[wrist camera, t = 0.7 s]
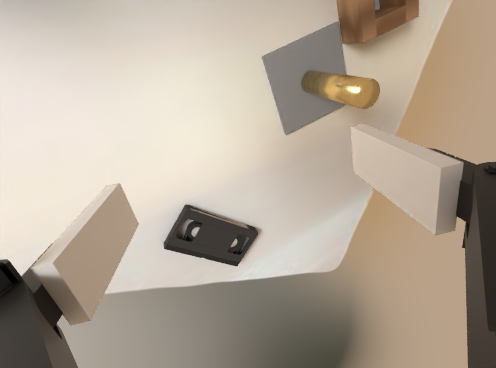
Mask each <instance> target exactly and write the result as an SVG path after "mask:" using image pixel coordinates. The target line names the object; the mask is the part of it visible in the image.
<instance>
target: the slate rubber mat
mask: <svg viewBox="0 0 496 368" xmlns="http://www.w3.org/2000/svg"><path fill="white" fill-rule="evenodd" d="M262 58H263V62H264V65H265V68H266V72H267V75H268V78H269V82H270V85H271V88H272V92H273V95H274V98H275V102H276V105H277V108H278V112H279V115H280V118H281V122H282V125H283V128H284V132H285V134H286V135H287V134H289V133H291V132H293V131H295V130H297V129H299V128H301V127H303V126H305V125H307V124H308V123H310V122H312V121H314V120H316V119H318V118H320V117H322V116H324V115H326V114H328V113H330V112H332V111H334V110H336V109H338V108H340V107H342V106H344V105H346V104H345V103H341V102H338V101H334V100H331V99H327V98H323V97H320V96H316V95H313V94H309V93H306V92H305V91H304V90H303V89H302V87H301V80H302V77H303V76H304V74H305V73H306V72H308V71H310V70H315V71H321V72H328V73H335V74H342V75H346V73H345V66H344V59H343V52H342V45H341V38H340V31H339V24H338V22H335V23H333V24H331V25H329V26H327V27H325V28H323V29H320V30H318V31H316V32H314V33H312V34H310V35H308V36H305V37H303V38H301V39H299V40H297V41H295V42H293V43H290V44H288V45H286V46H284V47H282V48H280V49H277V50H275V51H273V52H271V53H269V54H267V55H265V56H262Z"/></svg>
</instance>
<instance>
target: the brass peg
mask: <svg viewBox="0 0 496 368" xmlns="http://www.w3.org/2000/svg"><path fill="white" fill-rule="evenodd" d="M301 87H302V89H303V90H304V91H305V92H306V93H309V94H313V95H316V96H320V97H323V98H327V99H331V100H334V101H338V102H341V103H345V104H348V105H352V106H355V107H359V108H362V109H367V108H369V107H371V106H372V105H373V104H374V103H375V102H376V100H377V99H378V96H379V92H380V86H379V83H378V82H377V81H376V80H374V79H370V78H363V77H356V76H349V75H342V74H335V73H328V72H321V71H315V70H310V71H308V72H306V73H305V74H304V76H303V77H302V80H301Z"/></svg>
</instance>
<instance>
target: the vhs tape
mask: <svg viewBox="0 0 496 368" xmlns="http://www.w3.org/2000/svg"><path fill="white" fill-rule="evenodd" d="M187 219H191V220H194V221H192V222H191V223H189V224H188V226H187V229H186V232H185V235H184V237H183V240H182V239H178V238H177V237H176V234H177V230H178V228H179V227H180V225H181V224H182V223H183V222H184V221H185V220H187ZM187 233H188V236H189V237H190V238H191V239H193V241H192V242H189V241H185V239H186V236H187ZM257 235H258V232H257V231H256V229H255V228H254V227H252V226H249V225H245V224H242V223H240V222H237V221H234V220H231V219H228V218H225V217H222V216H219V215H216V214H213V213H210V212H208V211H205V210H202V209H199V208H196V207H193V206H190V205H185V206H184V208H183V210H182V211H181V213H180V215H179V217H178V219H177V220H176V222H175V224H174V226H173V227H172V229H171V231H170V233H169V235H168V236H167V238H166V240H165V242H164V249H167V250H171V251H175V252H179V253H183V254H188V255H192V256H196V257H200V258H202V257H203V258H206V259H208V260H213V261H217V262H221V263H225V264H229V265H233V266H238V264H239V263H240V261H241V258H243V256H244V255H245V253H246V252H247V250H248V249H249V247H250V246H251V244H252V243H253V241H254V239H255V238H256V236H257ZM243 236H245V237H248V238H249V240H248V241H247V243H246V244H245V246H244V247H243V249H242V251H241V252H240V254H239V255H238V254H237V253H238V251H239V250H240V248H241V246H242V245H243V243H244V237H243ZM232 252H233V253H232Z"/></svg>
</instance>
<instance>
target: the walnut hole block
mask: <svg viewBox="0 0 496 368" xmlns="http://www.w3.org/2000/svg"><path fill="white" fill-rule="evenodd" d="M337 7H338V14H339V21H340V28H341V35H342V42H343V43H365V42H367V41H369V40H371V39H373V38H375V37H377V36H379V35H381V34H383V33H385V32H388V31H390V30H392V29H394V28H396V27H398V26H400V25H402V24H404V23H406V22H408V21H410V20H412V19H414V18H417V17H418V15H419V0H380V9H379V10H377V11H375V3H374V0H337Z"/></svg>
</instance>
